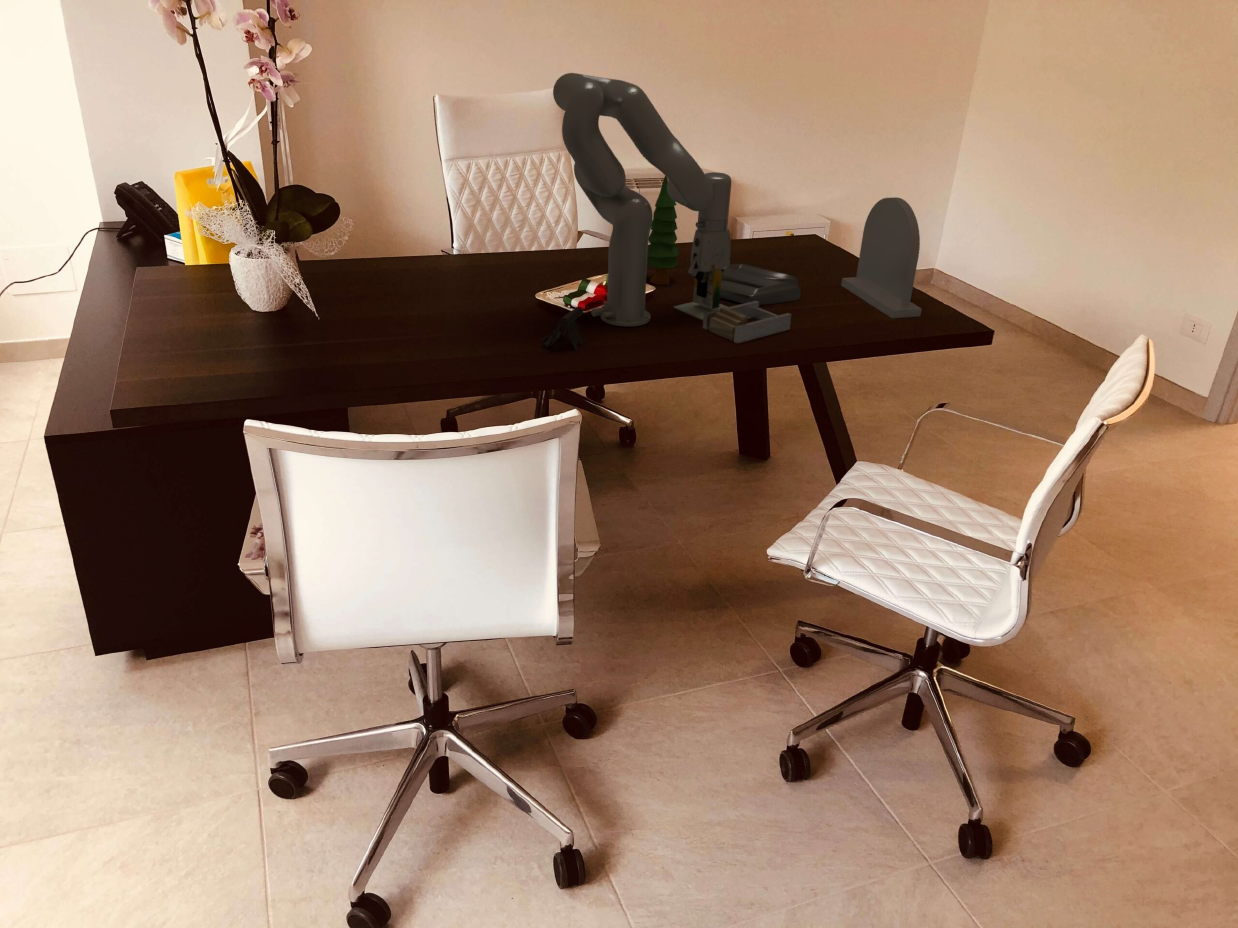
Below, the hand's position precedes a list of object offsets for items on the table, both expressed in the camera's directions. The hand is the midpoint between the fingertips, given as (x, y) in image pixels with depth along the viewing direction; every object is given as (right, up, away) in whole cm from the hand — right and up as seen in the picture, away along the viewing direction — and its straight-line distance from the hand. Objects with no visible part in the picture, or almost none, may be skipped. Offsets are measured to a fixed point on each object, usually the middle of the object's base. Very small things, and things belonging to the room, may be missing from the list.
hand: (706, 294), depth 250 cm
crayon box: (0, -3, +1) cm, 3 cm away
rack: (+9, -10, -10) cm, 17 cm away
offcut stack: (+4, -12, -13) cm, 18 cm away
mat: (0, -4, +2) cm, 4 cm away
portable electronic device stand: (-35, -16, -23) cm, 45 cm away
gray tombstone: (+49, +1, +15) cm, 51 cm away
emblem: (+13, +4, +18) cm, 23 cm away
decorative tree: (-11, +8, +23) cm, 27 cm away
